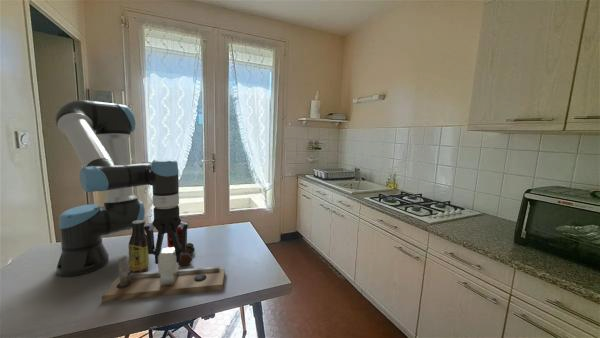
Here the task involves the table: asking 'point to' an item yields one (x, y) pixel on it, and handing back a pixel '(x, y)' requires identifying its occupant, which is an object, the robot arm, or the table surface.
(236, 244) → the table surface
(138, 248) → the sauce bottle
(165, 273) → the block
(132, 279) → the board
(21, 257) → the table surface
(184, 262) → the bolt
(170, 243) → the canned food
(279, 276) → the table surface
